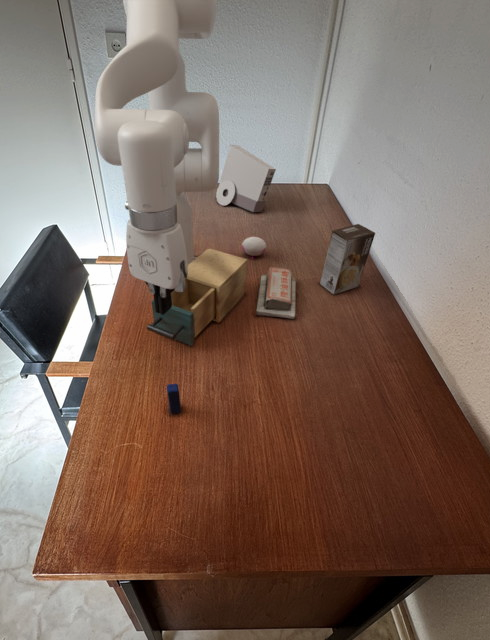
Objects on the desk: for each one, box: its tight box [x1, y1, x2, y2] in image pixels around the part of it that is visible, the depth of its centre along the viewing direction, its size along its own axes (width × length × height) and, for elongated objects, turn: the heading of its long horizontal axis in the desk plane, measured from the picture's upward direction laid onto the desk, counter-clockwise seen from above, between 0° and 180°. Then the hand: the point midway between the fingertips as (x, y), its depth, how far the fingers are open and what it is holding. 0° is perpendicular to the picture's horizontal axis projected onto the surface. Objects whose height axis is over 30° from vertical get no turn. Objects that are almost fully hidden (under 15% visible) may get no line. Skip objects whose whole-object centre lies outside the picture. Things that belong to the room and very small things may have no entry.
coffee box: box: [319, 223, 376, 295], centre depth 100 cm, size 9×6×16 cm
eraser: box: [166, 383, 182, 415], centre depth 71 cm, size 2×2×7 cm
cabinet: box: [186, 248, 248, 324], centre depth 96 cm, size 15×12×11 cm
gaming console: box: [215, 144, 277, 213], centre depth 138 cm, size 23×8×20 cm, turn 43°
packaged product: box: [255, 266, 297, 320], centre depth 99 cm, size 18×5×10 cm
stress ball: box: [241, 236, 267, 260], centre depth 117 cm, size 8×8×7 cm
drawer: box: [146, 279, 217, 346], centre depth 87 cm, size 18×10×9 cm, turn 150°
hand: (163, 309), depth 72 cm, fingers closed
